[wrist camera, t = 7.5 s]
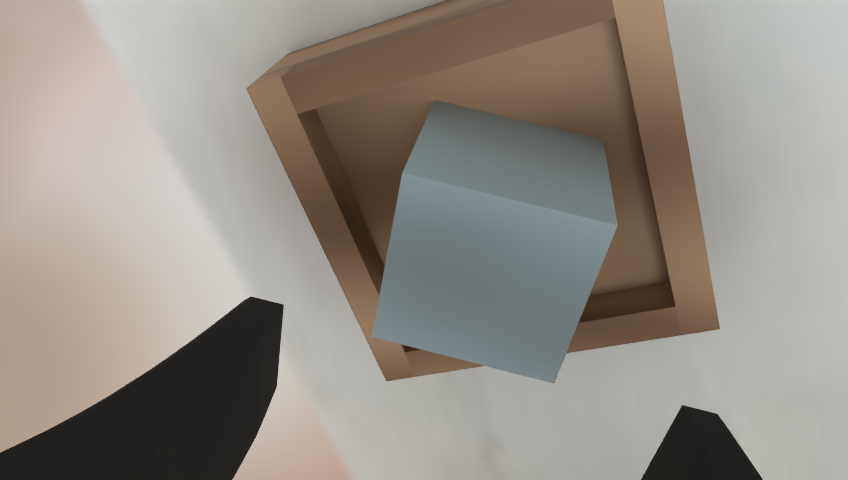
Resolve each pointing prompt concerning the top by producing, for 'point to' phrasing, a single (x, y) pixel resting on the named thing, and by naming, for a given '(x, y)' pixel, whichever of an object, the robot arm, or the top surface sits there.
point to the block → (495, 241)
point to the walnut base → (511, 97)
